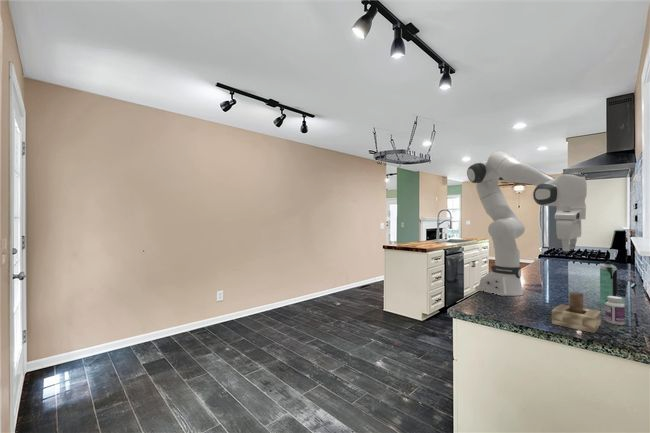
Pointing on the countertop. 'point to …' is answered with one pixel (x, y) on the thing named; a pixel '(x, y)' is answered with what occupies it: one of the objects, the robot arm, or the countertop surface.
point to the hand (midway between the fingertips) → (569, 249)
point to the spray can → (607, 282)
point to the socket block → (576, 318)
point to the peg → (576, 302)
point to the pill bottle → (615, 310)
